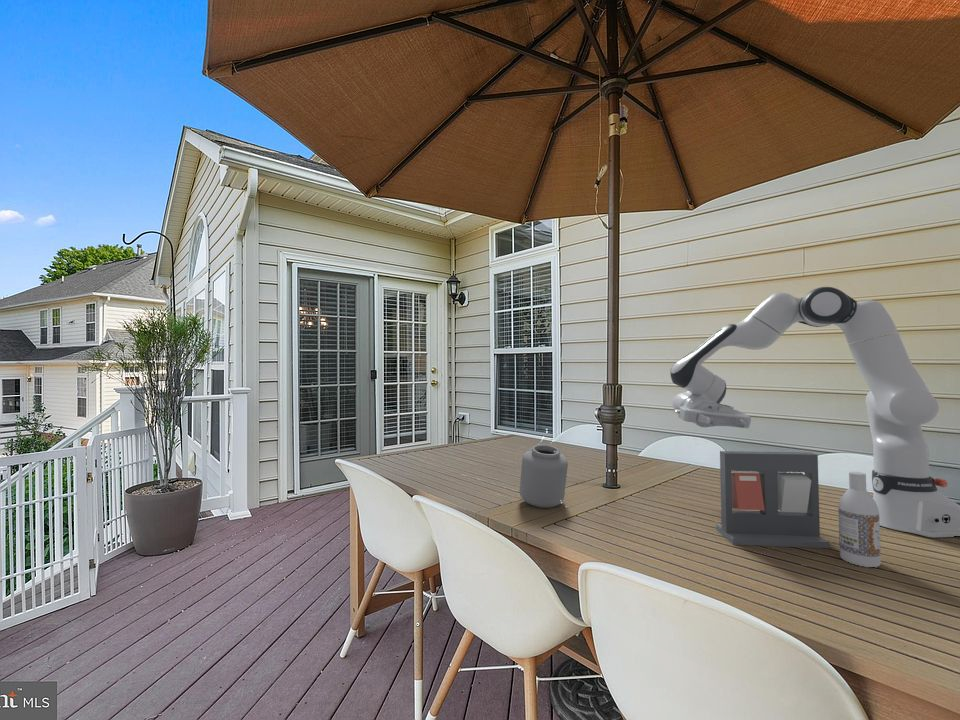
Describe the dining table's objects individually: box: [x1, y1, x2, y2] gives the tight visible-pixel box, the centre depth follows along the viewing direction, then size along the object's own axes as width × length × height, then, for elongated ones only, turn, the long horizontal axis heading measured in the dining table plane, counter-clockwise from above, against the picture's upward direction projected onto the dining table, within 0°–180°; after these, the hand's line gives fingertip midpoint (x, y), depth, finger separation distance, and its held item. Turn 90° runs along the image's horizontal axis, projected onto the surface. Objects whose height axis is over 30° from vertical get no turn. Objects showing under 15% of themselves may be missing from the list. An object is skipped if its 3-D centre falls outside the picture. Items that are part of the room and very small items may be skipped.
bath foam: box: [837, 471, 882, 568], centre depth 98 cm, size 7×7×20 cm
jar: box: [519, 428, 569, 509], centre depth 141 cm, size 19×15×25 cm
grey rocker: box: [777, 472, 811, 513], centre depth 110 cm, size 6×4×9 cm, turn 82°
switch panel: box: [715, 450, 830, 549], centre depth 111 cm, size 22×10×22 cm, turn 82°
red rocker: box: [731, 472, 764, 511], centre depth 112 cm, size 6×4×9 cm
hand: (727, 423), depth 125 cm, fingers open, 8 cm apart
